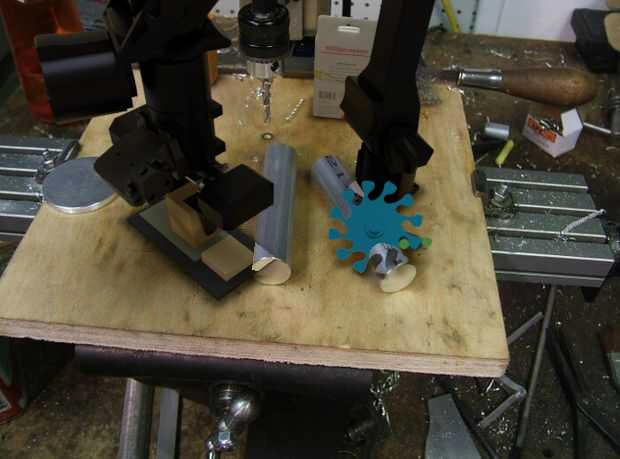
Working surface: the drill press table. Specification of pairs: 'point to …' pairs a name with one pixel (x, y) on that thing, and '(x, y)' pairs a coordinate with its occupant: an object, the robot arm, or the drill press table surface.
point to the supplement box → (212, 59)
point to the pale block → (187, 216)
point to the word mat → (200, 251)
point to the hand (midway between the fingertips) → (197, 223)
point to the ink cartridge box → (339, 59)
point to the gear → (376, 224)
